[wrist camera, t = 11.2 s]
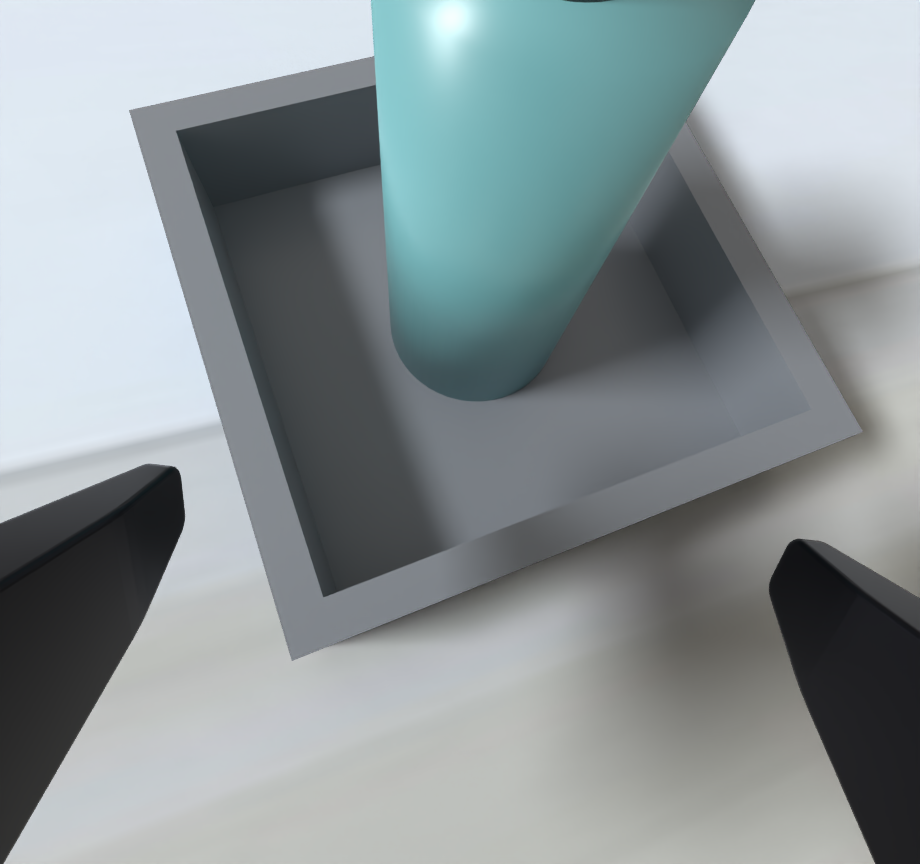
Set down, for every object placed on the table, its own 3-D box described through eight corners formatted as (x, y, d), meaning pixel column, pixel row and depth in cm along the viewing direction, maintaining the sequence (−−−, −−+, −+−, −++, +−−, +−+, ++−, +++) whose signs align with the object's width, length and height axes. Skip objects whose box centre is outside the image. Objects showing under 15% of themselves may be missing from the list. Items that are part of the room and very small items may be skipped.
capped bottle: (586, 318, 19) (925, -220, 7) (485, 435, 18) (673, 33, 5) (462, 223, 20) (559, -437, 7) (355, 328, 18) (244, -262, 6)
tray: (771, 466, 19) (862, 432, 15) (318, 647, 16) (291, 660, 12) (581, 104, 22) (617, 2, 19) (183, 205, 20) (129, 110, 16)
